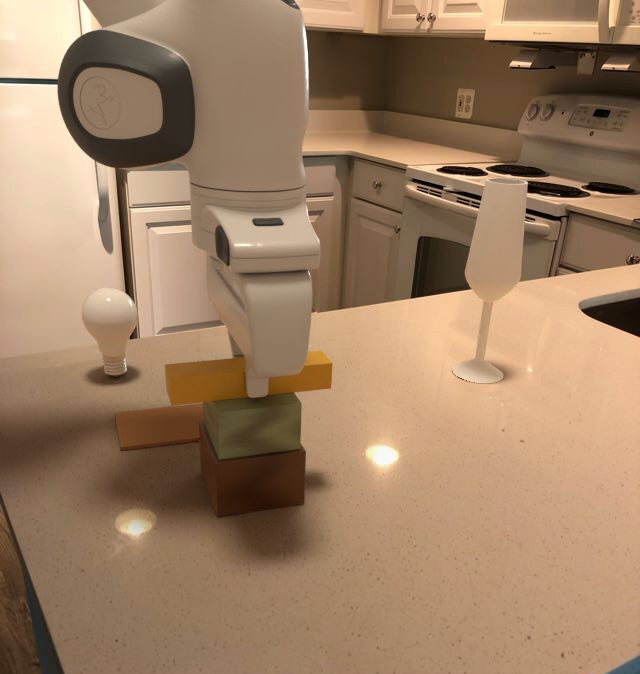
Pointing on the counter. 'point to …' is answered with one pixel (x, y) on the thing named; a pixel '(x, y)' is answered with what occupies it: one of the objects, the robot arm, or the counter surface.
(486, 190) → the champagne flute
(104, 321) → the lightbulb
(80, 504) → the counter surface
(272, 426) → the tower
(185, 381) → the bar
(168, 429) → the cork mat
